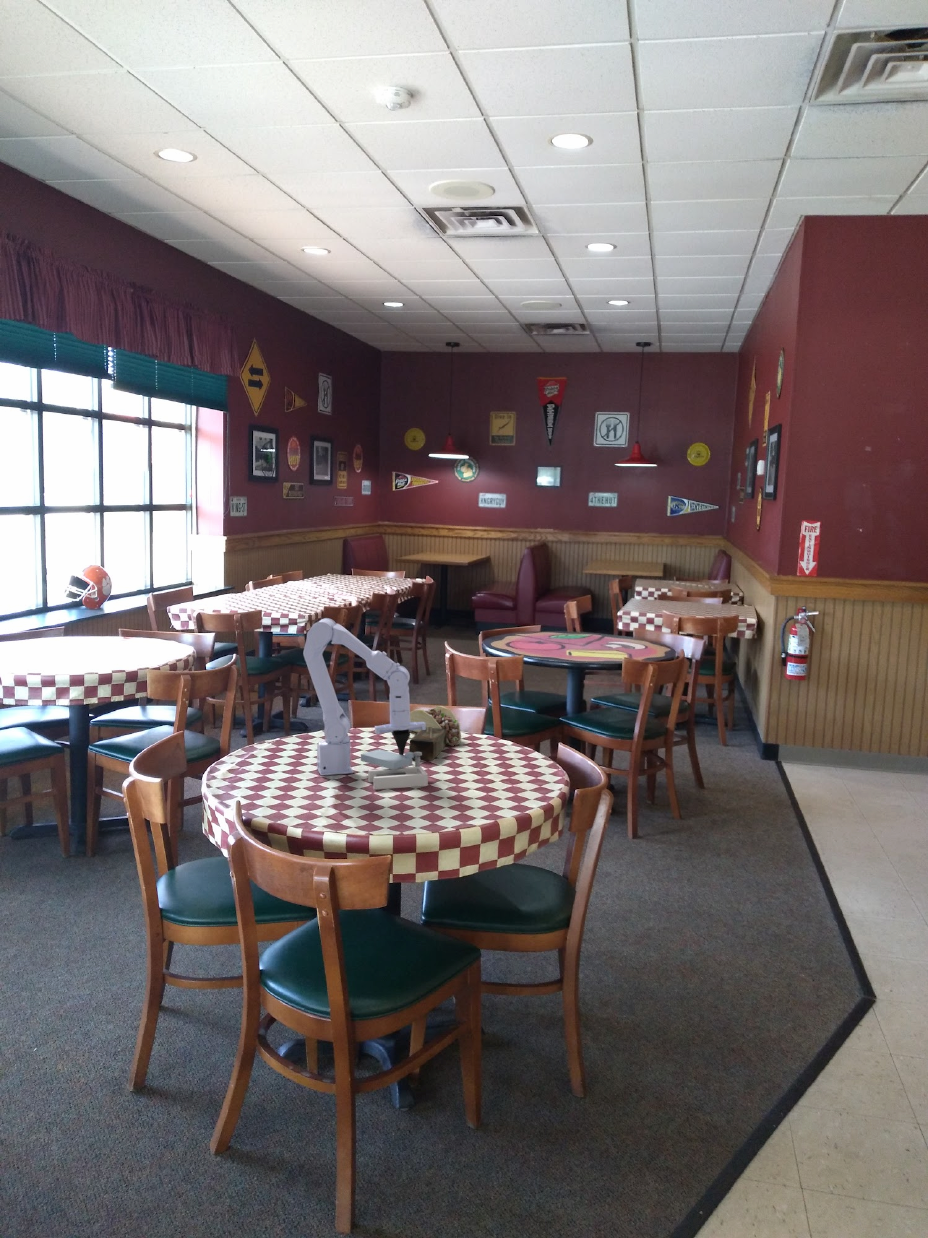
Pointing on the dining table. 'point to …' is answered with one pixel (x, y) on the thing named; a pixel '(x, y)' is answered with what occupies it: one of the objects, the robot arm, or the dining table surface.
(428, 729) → the brown box-shaped piece
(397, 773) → the dark grey cylinder
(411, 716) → the taco
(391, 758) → the cover
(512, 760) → the dining table surface
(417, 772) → the duct
